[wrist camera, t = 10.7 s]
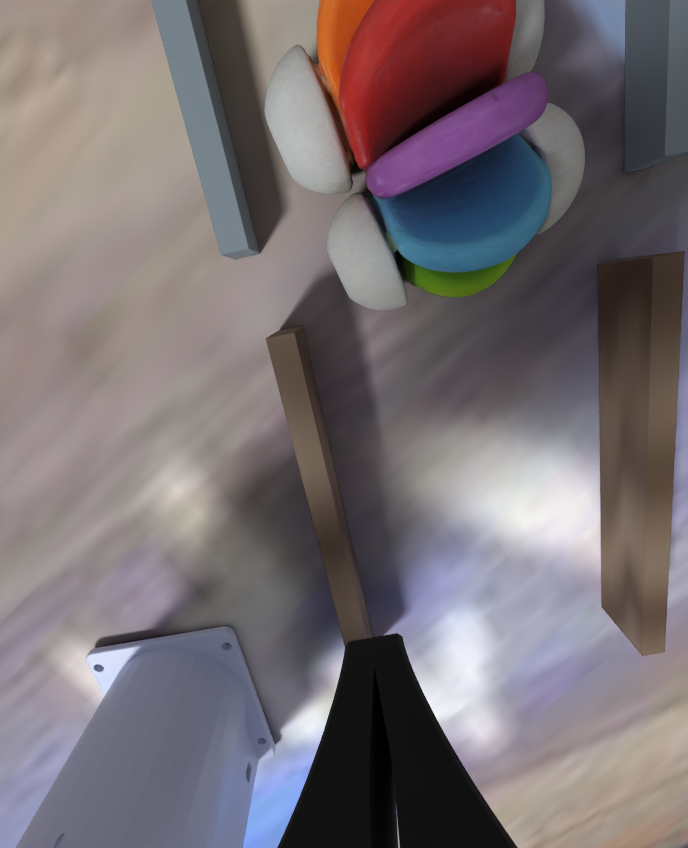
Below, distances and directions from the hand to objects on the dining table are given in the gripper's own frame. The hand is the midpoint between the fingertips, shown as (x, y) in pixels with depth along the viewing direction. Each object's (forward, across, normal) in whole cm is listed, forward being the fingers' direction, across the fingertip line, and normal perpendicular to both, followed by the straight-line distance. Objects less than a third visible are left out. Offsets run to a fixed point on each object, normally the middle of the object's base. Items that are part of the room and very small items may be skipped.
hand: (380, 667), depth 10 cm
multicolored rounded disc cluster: (+10, -4, -13) cm, 17 cm away
